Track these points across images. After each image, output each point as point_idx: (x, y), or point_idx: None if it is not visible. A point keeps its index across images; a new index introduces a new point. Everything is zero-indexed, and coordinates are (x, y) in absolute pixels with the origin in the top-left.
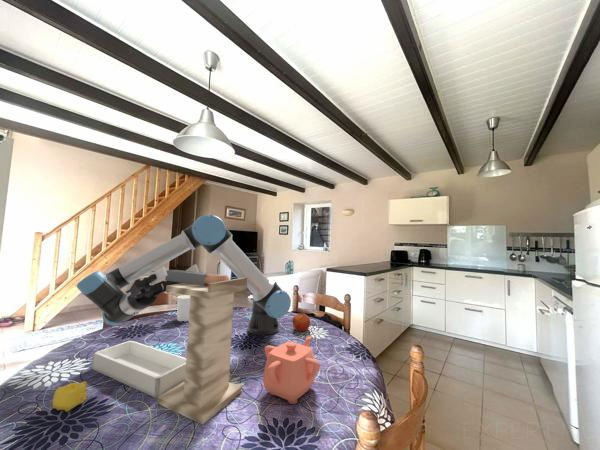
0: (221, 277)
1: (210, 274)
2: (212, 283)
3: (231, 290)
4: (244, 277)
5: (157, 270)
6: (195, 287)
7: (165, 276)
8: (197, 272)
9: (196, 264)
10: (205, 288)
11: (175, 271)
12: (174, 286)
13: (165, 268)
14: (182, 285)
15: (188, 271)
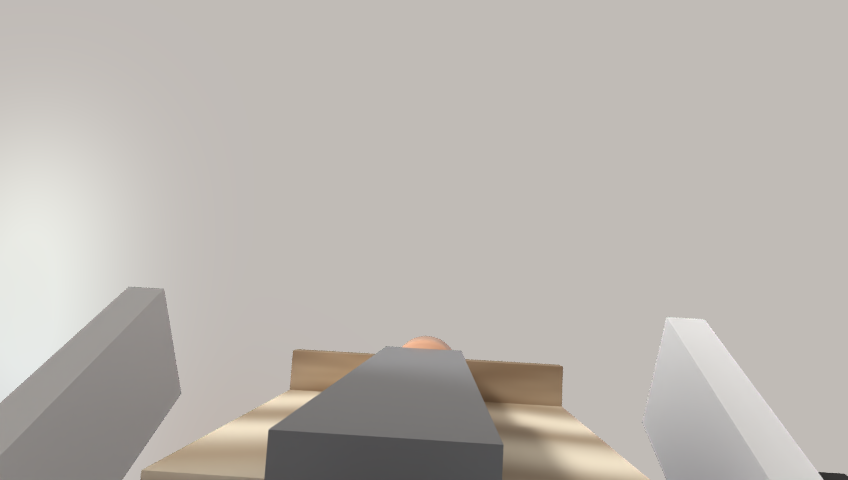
0: (449, 347)
1: (436, 345)
2: (544, 364)
3: None
4: (296, 350)
5: (758, 394)
6: (533, 432)
7: (658, 447)
8: (389, 359)
9: (136, 291)
10: (512, 417)
11: (477, 396)
12: (631, 476)
13: (662, 342)
14: (555, 467)
15: (374, 373)
